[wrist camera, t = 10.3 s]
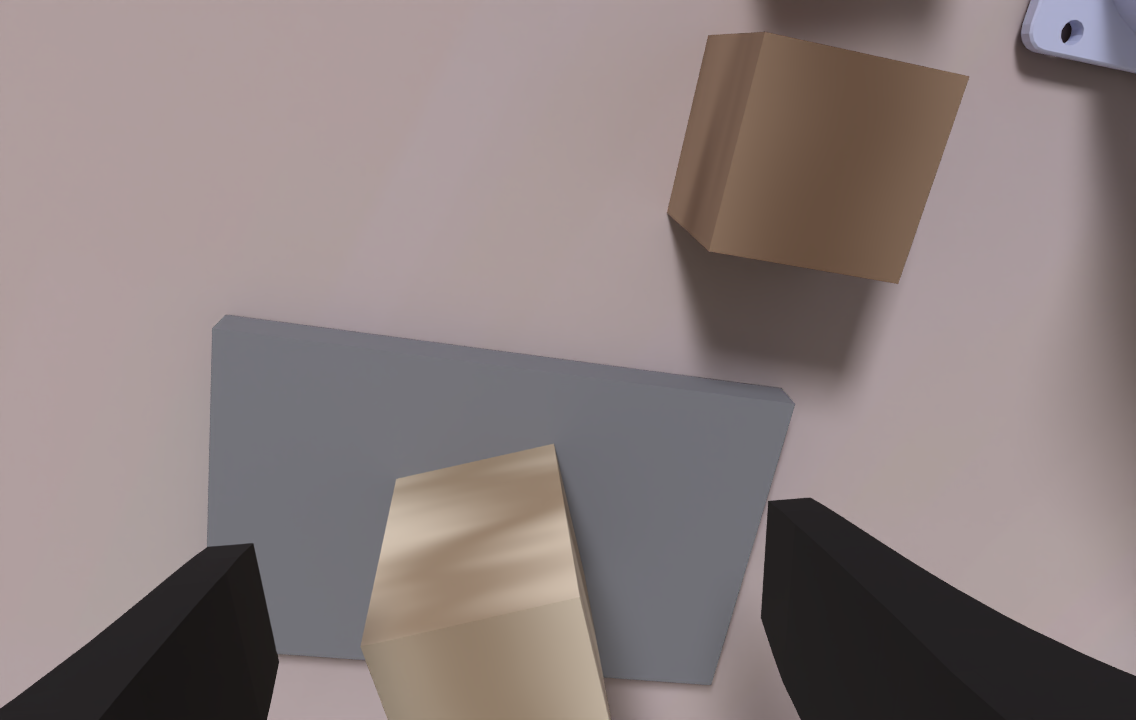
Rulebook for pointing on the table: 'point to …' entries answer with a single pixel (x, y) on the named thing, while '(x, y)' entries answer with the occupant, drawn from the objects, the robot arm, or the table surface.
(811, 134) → the walnut block
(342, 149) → the table surface
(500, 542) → the pale birch block
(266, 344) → the charcoal mat
